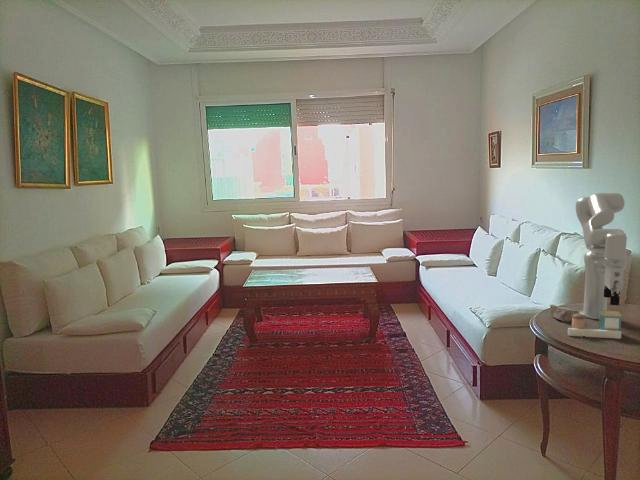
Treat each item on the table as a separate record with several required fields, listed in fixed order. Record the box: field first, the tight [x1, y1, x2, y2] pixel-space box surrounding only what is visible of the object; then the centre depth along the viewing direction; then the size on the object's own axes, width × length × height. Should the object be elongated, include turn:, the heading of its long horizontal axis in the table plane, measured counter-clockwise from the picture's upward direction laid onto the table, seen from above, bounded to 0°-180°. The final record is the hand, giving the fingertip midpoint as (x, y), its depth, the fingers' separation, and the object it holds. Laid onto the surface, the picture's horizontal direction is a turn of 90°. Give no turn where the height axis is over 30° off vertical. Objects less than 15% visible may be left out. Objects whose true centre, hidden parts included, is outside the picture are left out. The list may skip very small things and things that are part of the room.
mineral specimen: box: [549, 304, 580, 323], centre depth 230 cm, size 13×7×6 cm, turn 48°
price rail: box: [567, 327, 622, 340], centre depth 208 cm, size 1×20×3 cm, turn 74°
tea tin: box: [598, 310, 623, 332], centre depth 210 cm, size 5×7×9 cm
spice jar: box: [571, 313, 586, 329], centre depth 213 cm, size 5×5×8 cm
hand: (611, 301), depth 209 cm, fingers open, 9 cm apart
